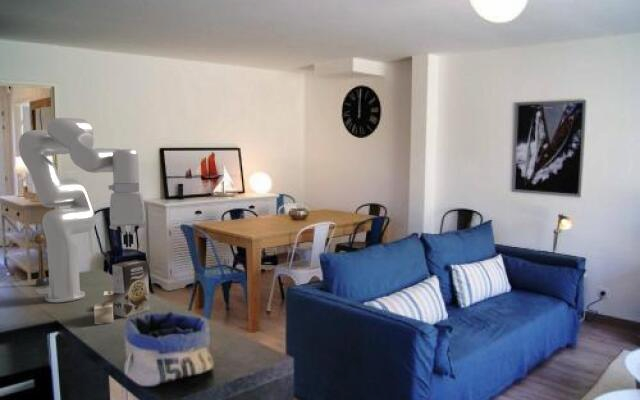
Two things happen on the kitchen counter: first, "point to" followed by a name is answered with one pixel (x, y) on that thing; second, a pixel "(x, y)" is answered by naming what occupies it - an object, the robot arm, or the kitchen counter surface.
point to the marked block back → (108, 297)
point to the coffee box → (130, 288)
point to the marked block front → (103, 313)
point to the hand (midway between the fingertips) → (128, 246)
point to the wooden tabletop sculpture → (40, 261)
